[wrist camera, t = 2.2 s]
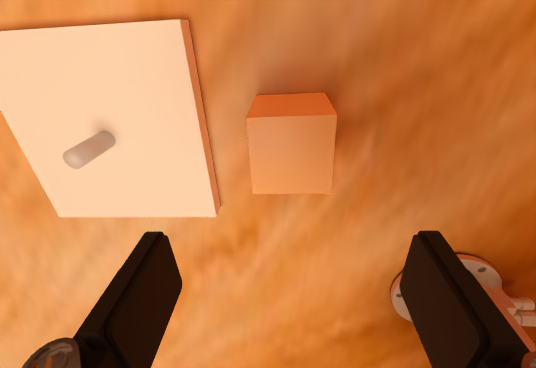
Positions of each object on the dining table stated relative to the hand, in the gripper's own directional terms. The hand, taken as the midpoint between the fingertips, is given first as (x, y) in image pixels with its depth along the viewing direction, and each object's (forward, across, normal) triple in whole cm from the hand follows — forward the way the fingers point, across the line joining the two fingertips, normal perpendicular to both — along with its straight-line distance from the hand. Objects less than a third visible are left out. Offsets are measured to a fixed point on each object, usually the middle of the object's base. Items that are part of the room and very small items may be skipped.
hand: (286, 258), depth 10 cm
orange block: (+17, 0, 0) cm, 17 cm away
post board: (+17, +17, 0) cm, 24 cm away
